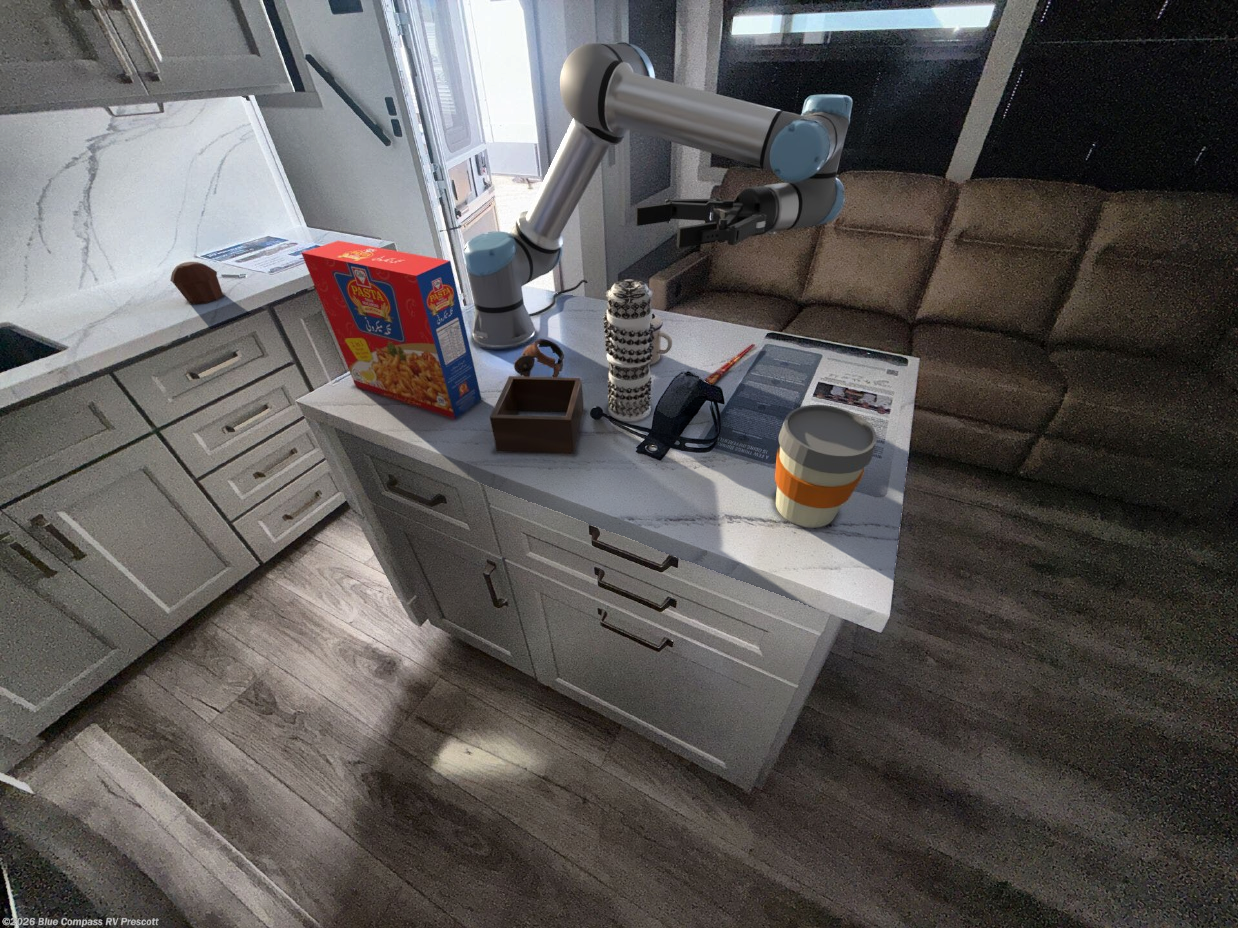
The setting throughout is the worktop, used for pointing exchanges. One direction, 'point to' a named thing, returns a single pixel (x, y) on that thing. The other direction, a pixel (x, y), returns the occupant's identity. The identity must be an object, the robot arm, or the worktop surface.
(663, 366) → the worktop surface
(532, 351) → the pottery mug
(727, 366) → the chopstick
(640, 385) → the patterned vase
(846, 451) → the reusable coffee cup
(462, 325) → the pasta box
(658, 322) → the teacup with lid
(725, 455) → the worktop surface
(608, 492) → the worktop surface
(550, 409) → the walnut box
